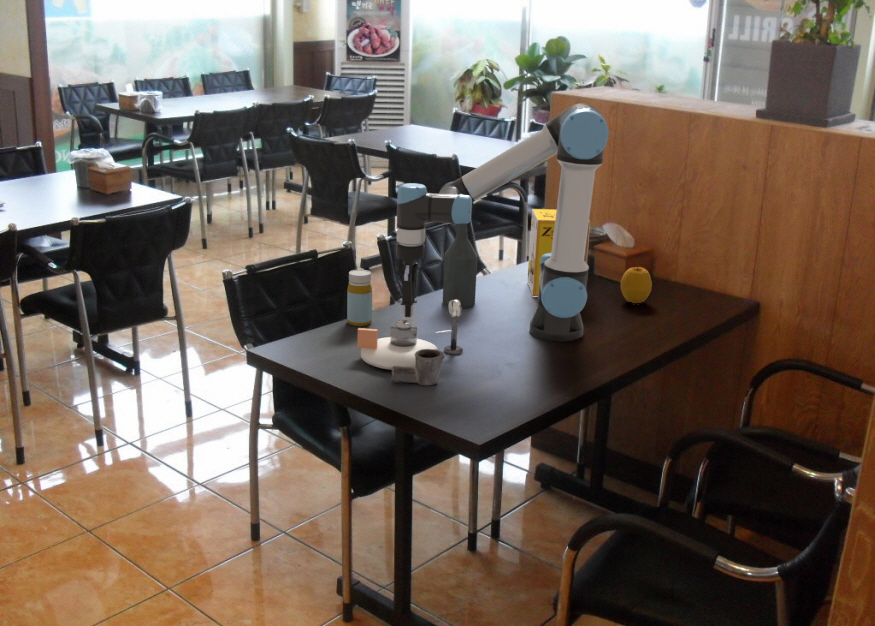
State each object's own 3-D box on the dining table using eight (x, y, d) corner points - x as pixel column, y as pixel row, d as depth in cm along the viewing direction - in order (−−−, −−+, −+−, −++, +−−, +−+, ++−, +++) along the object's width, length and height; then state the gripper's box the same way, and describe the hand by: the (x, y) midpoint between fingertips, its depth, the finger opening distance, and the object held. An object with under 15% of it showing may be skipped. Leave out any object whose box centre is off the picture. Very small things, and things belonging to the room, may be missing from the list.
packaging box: (583, 299, 307) (590, 221, 299) (532, 297, 306) (537, 220, 298) (576, 284, 322) (582, 210, 314) (527, 282, 322) (532, 208, 314)
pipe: (391, 378, 240) (391, 348, 237) (442, 378, 241) (443, 348, 238) (392, 388, 234) (392, 357, 231) (444, 388, 235) (446, 357, 233)
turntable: (442, 345, 260) (443, 322, 258) (432, 372, 241) (433, 348, 239) (365, 339, 262) (365, 316, 260) (349, 366, 243) (349, 342, 241)
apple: (627, 295, 311) (630, 260, 307) (655, 302, 306) (659, 266, 302) (613, 303, 304) (617, 267, 300) (642, 309, 298) (646, 273, 295)
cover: (418, 338, 259) (419, 319, 258) (414, 347, 253) (415, 327, 251) (392, 336, 260) (393, 317, 258) (388, 345, 254) (388, 325, 252)
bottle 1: (368, 328, 274) (368, 277, 269) (344, 325, 275) (344, 274, 271) (374, 320, 281) (375, 270, 276) (351, 317, 282) (351, 268, 277)
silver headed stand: (457, 347, 262) (459, 296, 257) (466, 353, 258) (468, 301, 253) (430, 351, 258) (432, 299, 254) (439, 357, 254) (441, 305, 250)
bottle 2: (481, 306, 296) (486, 210, 286) (454, 310, 291) (458, 213, 281) (463, 297, 304) (467, 203, 295) (436, 301, 299) (439, 205, 290)
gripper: (400, 235, 263) (398, 318, 270) (392, 247, 250) (390, 333, 258) (428, 237, 262) (425, 320, 269) (420, 249, 250) (418, 336, 257)
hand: (408, 326), depth 264 cm, fingers closed
